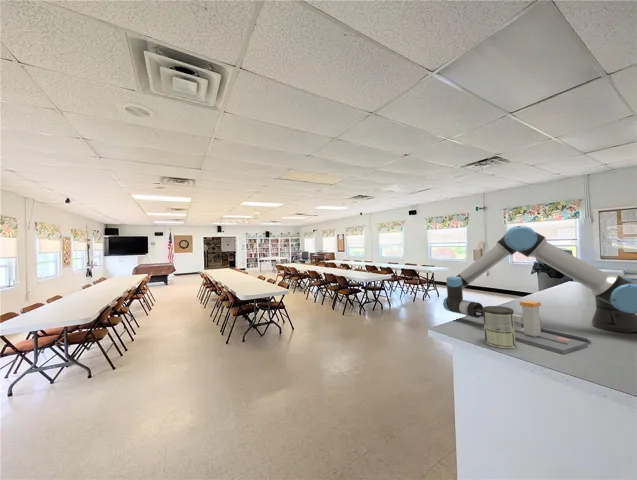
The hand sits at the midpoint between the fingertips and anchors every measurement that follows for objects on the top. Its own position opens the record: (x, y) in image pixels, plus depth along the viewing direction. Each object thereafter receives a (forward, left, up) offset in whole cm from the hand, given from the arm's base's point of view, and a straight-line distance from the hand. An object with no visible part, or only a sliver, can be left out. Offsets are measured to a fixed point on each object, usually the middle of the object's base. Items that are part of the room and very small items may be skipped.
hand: (522, 319), depth 110 cm
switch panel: (-3, +3, -7) cm, 8 cm away
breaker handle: (-2, +2, -6) cm, 6 cm away
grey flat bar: (-13, -4, -7) cm, 15 cm away
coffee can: (+12, +11, -8) cm, 18 cm away
